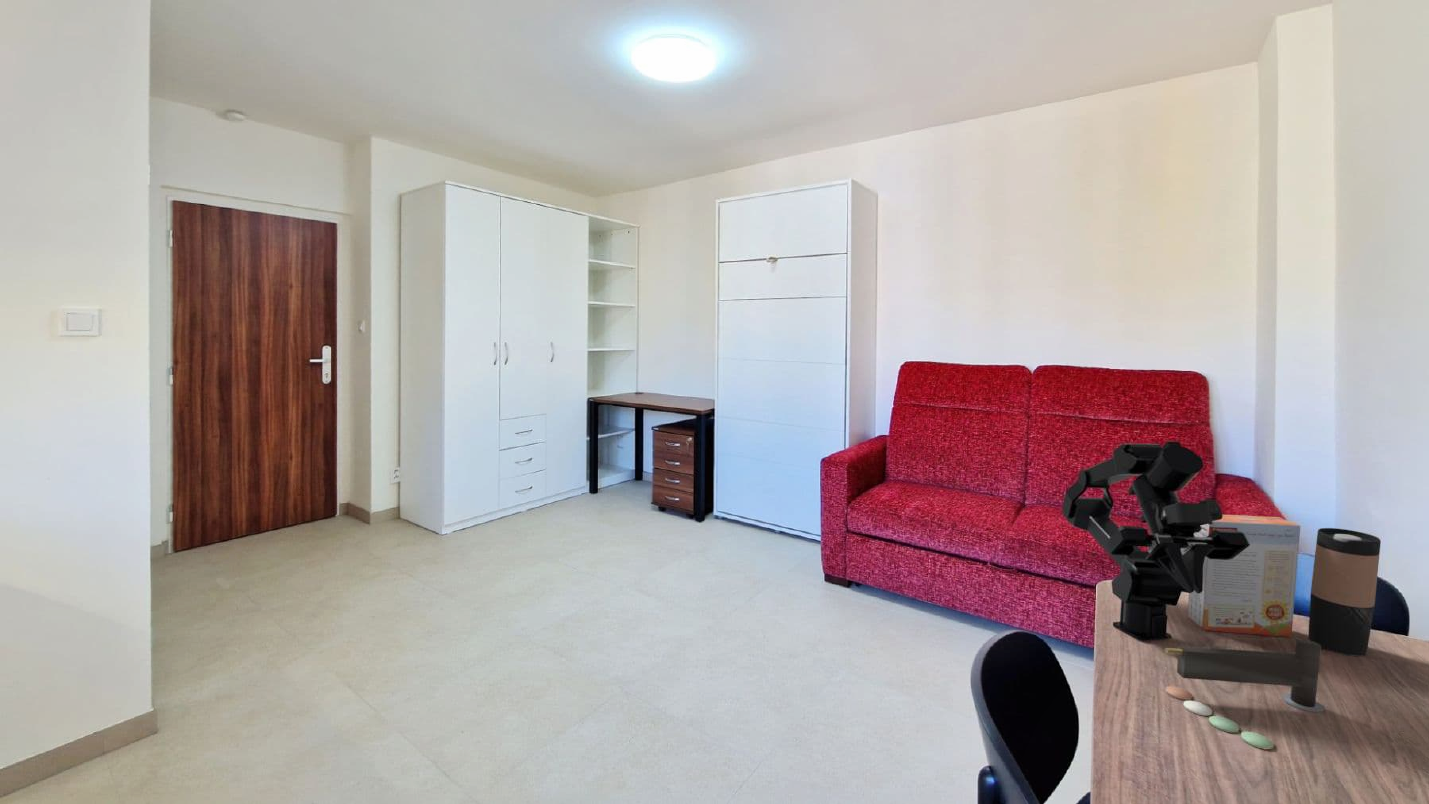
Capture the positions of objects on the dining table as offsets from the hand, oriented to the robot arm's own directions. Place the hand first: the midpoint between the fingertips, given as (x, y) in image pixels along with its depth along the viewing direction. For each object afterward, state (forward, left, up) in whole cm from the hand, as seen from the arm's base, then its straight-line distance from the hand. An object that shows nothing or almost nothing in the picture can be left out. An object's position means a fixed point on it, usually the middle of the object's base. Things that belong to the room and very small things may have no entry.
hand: (1195, 592), depth 95 cm
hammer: (+7, 0, -13) cm, 15 cm away
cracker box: (-11, +24, -14) cm, 30 cm away
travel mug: (-2, +34, -14) cm, 37 cm away
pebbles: (+10, +1, -14) cm, 17 cm away
